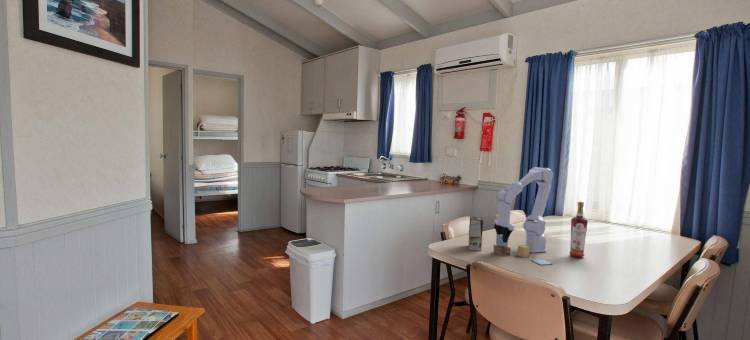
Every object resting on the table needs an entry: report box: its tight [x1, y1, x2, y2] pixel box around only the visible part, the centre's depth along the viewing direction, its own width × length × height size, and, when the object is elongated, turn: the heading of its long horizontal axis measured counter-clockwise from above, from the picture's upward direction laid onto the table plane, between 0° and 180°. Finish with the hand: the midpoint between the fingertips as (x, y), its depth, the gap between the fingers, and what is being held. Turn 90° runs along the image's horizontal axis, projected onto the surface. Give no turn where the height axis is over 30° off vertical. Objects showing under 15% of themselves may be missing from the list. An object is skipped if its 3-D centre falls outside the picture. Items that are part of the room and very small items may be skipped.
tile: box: [530, 258, 554, 266], centre depth 177 cm, size 7×7×1 cm
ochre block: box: [516, 244, 531, 258], centre depth 187 cm, size 4×4×5 cm
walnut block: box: [493, 244, 512, 257], centre depth 189 cm, size 6×6×4 cm
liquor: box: [568, 201, 589, 259], centre depth 187 cm, size 7×7×28 cm
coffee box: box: [468, 216, 484, 252], centre depth 197 cm, size 9×6×16 cm
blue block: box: [495, 233, 509, 247], centre depth 189 cm, size 4×4×5 cm
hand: (502, 240), depth 189 cm, fingers closed on blue block, 4 cm apart
